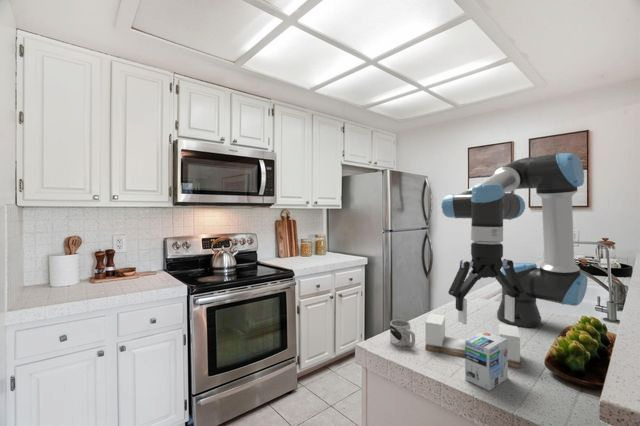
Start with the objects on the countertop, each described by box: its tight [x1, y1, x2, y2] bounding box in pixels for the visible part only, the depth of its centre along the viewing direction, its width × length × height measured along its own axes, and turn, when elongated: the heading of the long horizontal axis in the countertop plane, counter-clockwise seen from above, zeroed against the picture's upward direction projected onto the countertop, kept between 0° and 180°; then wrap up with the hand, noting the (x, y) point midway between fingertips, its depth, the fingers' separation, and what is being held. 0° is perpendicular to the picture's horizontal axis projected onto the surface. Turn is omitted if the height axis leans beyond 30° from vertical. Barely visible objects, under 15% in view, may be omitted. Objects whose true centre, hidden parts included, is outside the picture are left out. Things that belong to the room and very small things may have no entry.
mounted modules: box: [425, 313, 521, 362], centre depth 99 cm, size 26×9×7 cm, turn 62°
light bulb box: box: [464, 331, 509, 392], centre depth 84 cm, size 11×7×11 cm, turn 126°
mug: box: [389, 319, 416, 348], centre depth 105 cm, size 10×7×7 cm
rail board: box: [425, 336, 521, 369], centre depth 99 cm, size 26×10×2 cm, turn 62°
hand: (486, 321), depth 83 cm, fingers open, 13 cm apart
